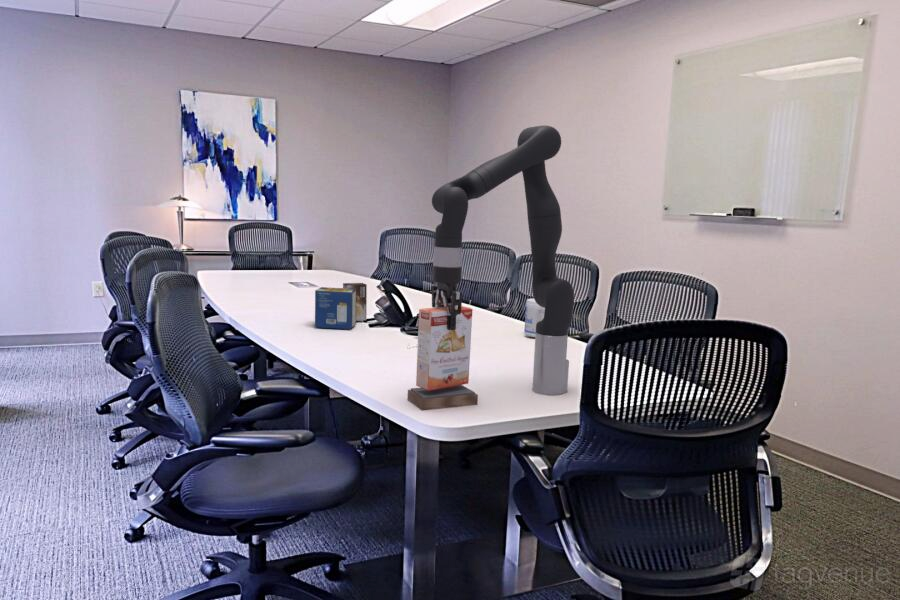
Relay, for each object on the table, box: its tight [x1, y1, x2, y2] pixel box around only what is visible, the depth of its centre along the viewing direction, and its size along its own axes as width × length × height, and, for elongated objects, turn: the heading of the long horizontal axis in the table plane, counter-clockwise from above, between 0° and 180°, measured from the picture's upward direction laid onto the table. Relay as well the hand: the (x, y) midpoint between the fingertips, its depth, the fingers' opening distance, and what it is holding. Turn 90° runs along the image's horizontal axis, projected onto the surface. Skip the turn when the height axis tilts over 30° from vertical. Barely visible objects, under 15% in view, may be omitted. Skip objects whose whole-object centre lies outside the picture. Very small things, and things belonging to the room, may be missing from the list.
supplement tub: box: [523, 298, 545, 338], centre depth 280 cm, size 10×10×15 cm
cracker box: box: [415, 305, 474, 391], centre depth 181 cm, size 14×6×21 cm, turn 129°
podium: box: [407, 384, 479, 411], centre depth 183 cm, size 16×10×4 cm, turn 116°
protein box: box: [314, 286, 357, 330], centre depth 284 cm, size 10×15×16 cm
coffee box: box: [342, 282, 368, 322], centre depth 300 cm, size 9×6×16 cm
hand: (445, 327), depth 180 cm, fingers closed on cracker box, 6 cm apart
